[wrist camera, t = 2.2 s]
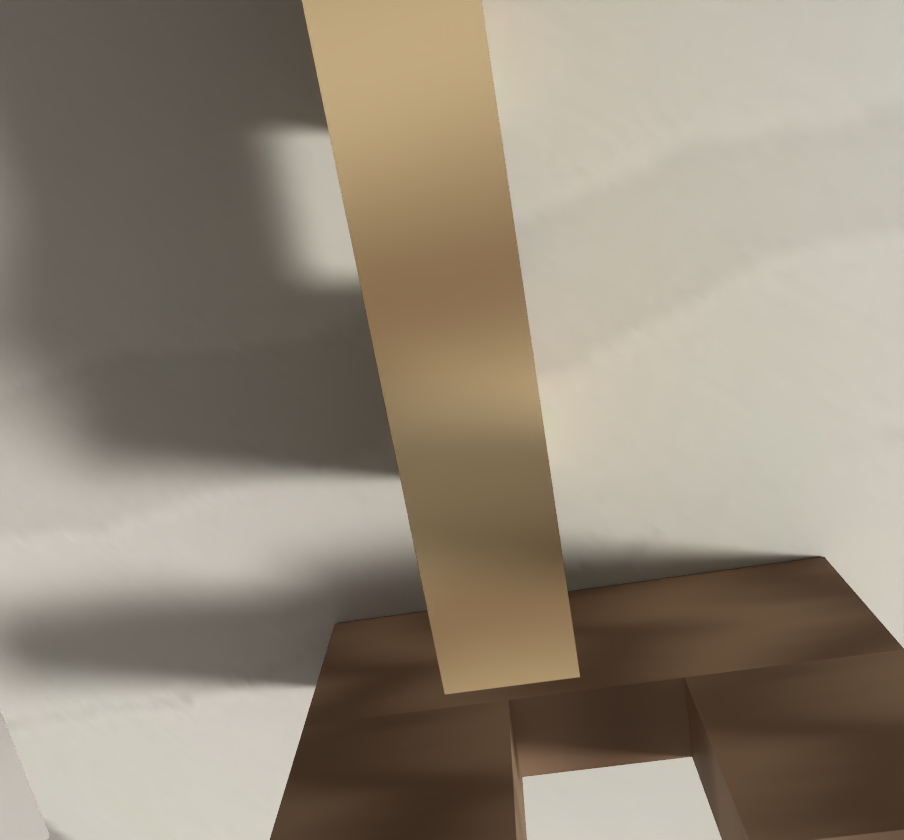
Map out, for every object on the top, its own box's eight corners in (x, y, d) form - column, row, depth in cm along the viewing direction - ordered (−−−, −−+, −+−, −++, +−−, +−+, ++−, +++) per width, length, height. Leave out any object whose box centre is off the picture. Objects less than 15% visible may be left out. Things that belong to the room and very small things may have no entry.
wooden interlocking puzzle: (351, -97, 19) (232, -337, 10) (450, -117, 19) (426, -383, 10) (457, 480, 24) (445, 694, 14) (538, 468, 24) (579, 676, 14)
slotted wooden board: (350, 688, 26) (279, 990, 17) (335, 623, 26) (251, 901, 16) (826, 626, 25) (1040, 913, 16) (824, 556, 24) (1046, 814, 15)
